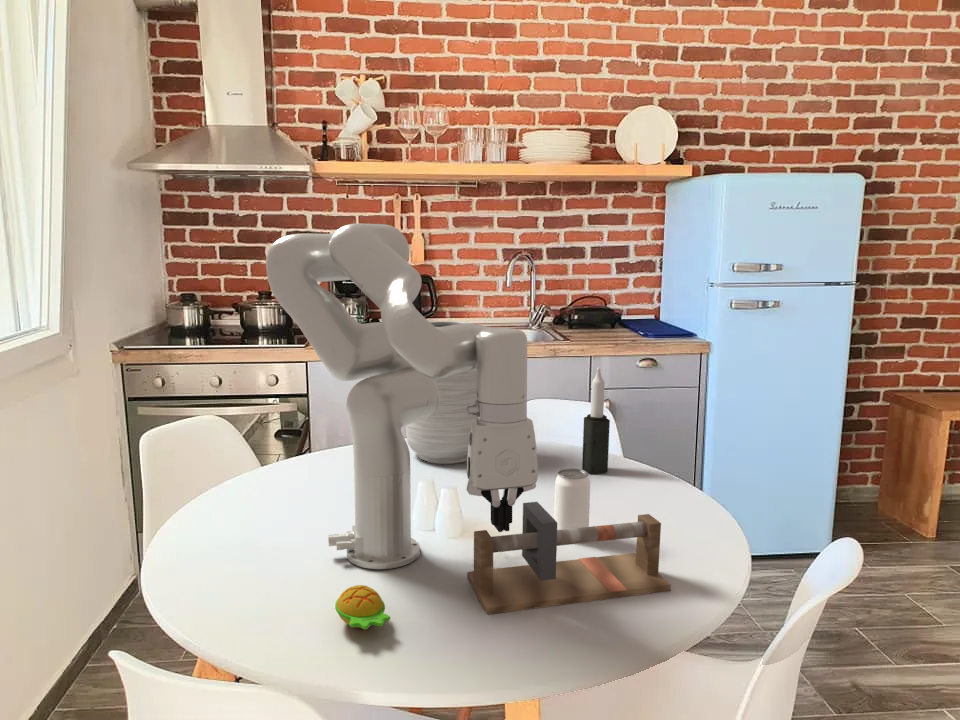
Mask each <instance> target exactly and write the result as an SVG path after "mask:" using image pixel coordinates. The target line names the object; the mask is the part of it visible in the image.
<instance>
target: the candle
mask: <svg viewBox="0 0 960 720" xmlns="http://www.w3.org/2000/svg"><path fill="white" fill-rule="evenodd" d="M601 370H602V369H601V367H597V368H596V374H595V377H594V378H593V380H592V381H591V391H590V392H591V393H590V394H591V395H590V396H591V398H590V399H591V400H590V414H587V415H586V416H584V417H583V431H582V432H583V435H582V463H581V465H582V466H581V470H584V471H586V472H587V473H588V475H602V474H607V473H608V472H609V471H608V469H609V467H608V466H609V450H610V449H609V447H610V423H611V420H610V419H608V418H607V415H605V414H604V408H605V407H604V405H605V404H604V403H605V380H604V379H603V376H602V374H601Z"/></svg>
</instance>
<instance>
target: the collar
mask: <svg viewBox="0 0 960 720" xmlns="http://www.w3.org/2000/svg"><path fill="white" fill-rule="evenodd" d="M533 532H538V548H532V549H523V550H521V557H523V559H524V560H525V562H526V563H527V565H529V566H530V567H531V568H532V570H533V571H534V572H535V574H536V575H537V576H538V578H539V579H540V580H541V581H542V580H551V579H556V562H557V555H558V554H557V550H558V549H557V548H558V546H557V522H556V521H555V520H554V517H552V515H550V513H549V512H548V511H547V510H546V509H545V508H544V507H543V506H542V505H541V504H540V503H539V502H538V501H531V502H522V533H521V534H523V533H533Z"/></svg>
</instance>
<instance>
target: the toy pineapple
mask: <svg viewBox="0 0 960 720" xmlns="http://www.w3.org/2000/svg"><path fill="white" fill-rule="evenodd" d="M334 607H335V611H336V612H337V614H338V616H339V618H340V619H341V621H343V622H344V623H345V624H347V625H349V627H350V628H357V629H359V628H361V629H362V630H368V629H369V628H370V626H376V627H383V626H384V625H385V622H388V621H390V620H391V616H390V615H389V614H387V613H384V612H385V609H386V604H385V602H384V600H383V599H382V598H381V595H380V594H379V593H378V591H376V590H375V589H374V588H372V587H370V586H368V585H363V584H358V585H357V584H356V585H353V586H349V587H347V589H345V590H344V591H343V592H342V593H341V594H340V595H339V597H338V598H337V600H336V601H335V604H334Z"/></svg>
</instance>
